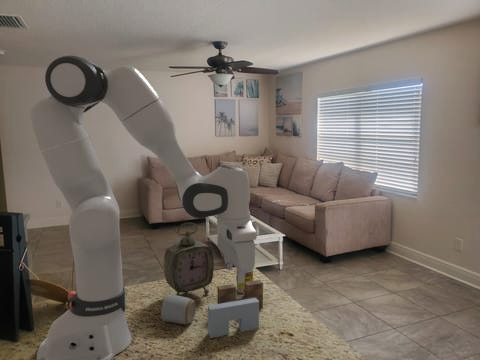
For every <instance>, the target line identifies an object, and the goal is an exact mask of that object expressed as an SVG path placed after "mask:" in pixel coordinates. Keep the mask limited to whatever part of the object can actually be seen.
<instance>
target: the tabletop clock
mask: <svg viewBox="0 0 480 360" xmlns="http://www.w3.org/2000/svg"><path fill="white" fill-rule="evenodd" d="M188 225H189V226H190V225H192V226H194V227H195V230H193V231H191V232H190V231H189V230H187V231H186V230H185V231H186V232H185V233H181V232H180V230H181V228H183V227H184V226H188ZM197 231H198V226H197V224H196V223H194V222H191V221H190V222H184V223H182V224H181V225H179V227H178V228H177V233H178V235H180V236H183V237H182V238H181V239H180V241H179V242H178V243H174V244H171V245H169V246H168V247H166V249H165V252H164V259H163V270H164V271H163V272H164V277H165V281H166V283H167V284H168V286H169V287H171V288H172V290H174V291H175V292H176V295H177V296H180V293H184V294H188V293H189V292H194V291H198V290H200V289H202V290H204V291H203V293H204V294H205V295H208V294H209V292H210V291H209V289H207V288H206V287H207V286H209V285H211V284H212V282H213V278H214V270H215V269H214V267H215V263H214V254H213V250H212V247H210V246H209V245H207V244H205V243H203V242H202V241H199V240H196V239H195V237H194V236H192V235H193V234H195V233H196V232H197Z"/></svg>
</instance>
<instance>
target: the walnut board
mask: <svg viewBox="0 0 480 360" xmlns="http://www.w3.org/2000/svg"><path fill="white" fill-rule="evenodd" d="M216 287H217V291H216V292H217V298H216V299H217V304H221V303H227V302H233V301H239V300H245V299H251V298H256V299H257V300H258V301H259V309H260V308H264V282H263V281H262V280H261V279H256V280H253V281H249V282H245V293H242V294H239V295H237V285H235V284H234V283H231V284H224V285H218V286H216Z"/></svg>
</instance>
